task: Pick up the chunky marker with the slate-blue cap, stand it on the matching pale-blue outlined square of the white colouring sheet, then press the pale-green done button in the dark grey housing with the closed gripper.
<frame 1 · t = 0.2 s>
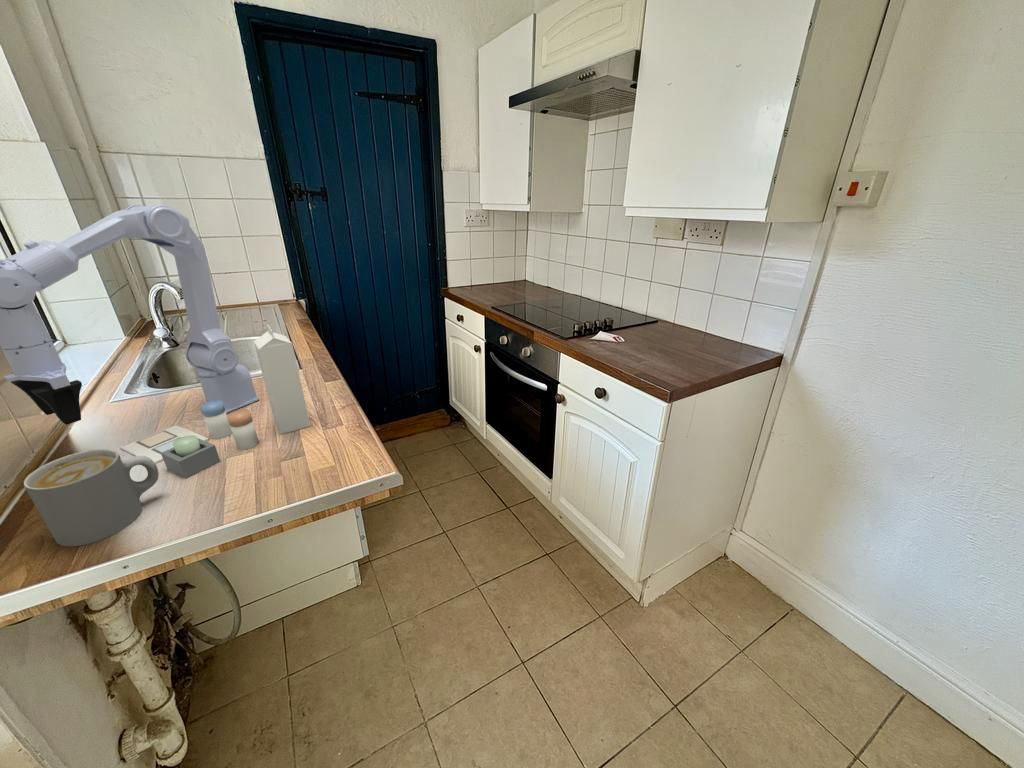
hand: (63, 417, 75), 10 cm above the countertop, fingers open, 7 cm apart
button housing: (194, 465, 78), on the countertop
milk: (293, 425, 92), on the countertop
done button: (188, 448, 77), point 4 cm above the countertop, slide at 0.0 cm
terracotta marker: (247, 444, 85), on the countertop
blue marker: (221, 434, 89), on the countertop
coffee mug: (116, 517, 66), on the countertop
sheet: (165, 444, 85), on the countertop
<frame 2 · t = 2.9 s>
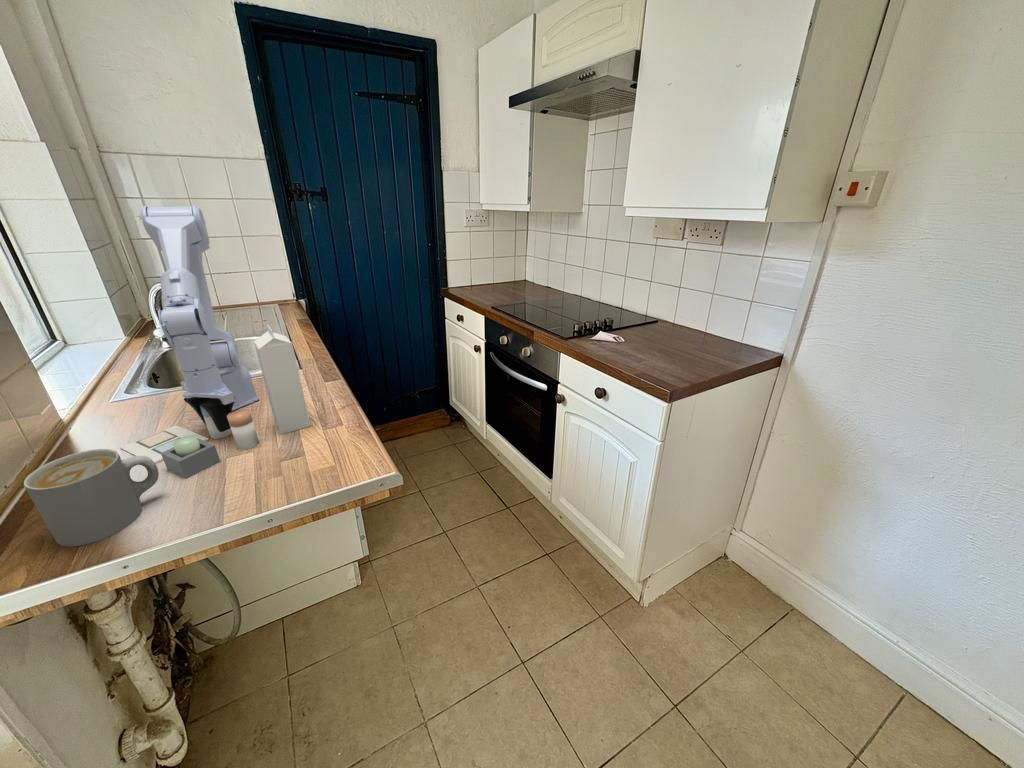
hand: (219, 427, 88), 2 cm above the countertop, fingers closed on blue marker, 4 cm apart
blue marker: (221, 434, 89), on the countertop, touching gripper
everything else where it was.
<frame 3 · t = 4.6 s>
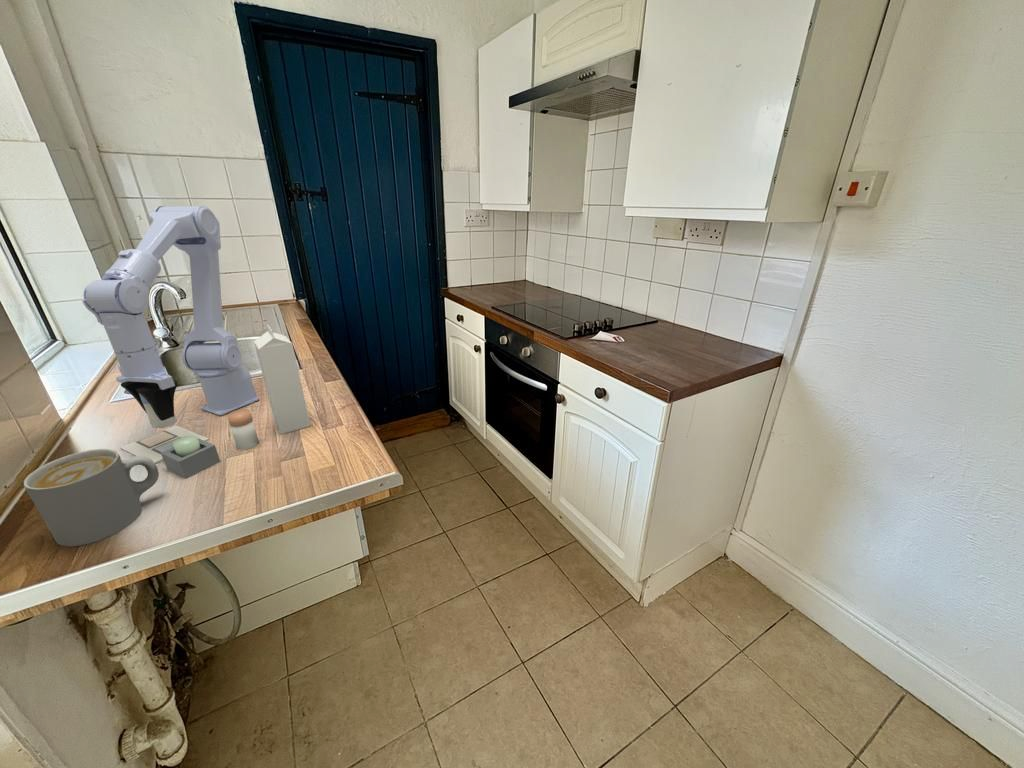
hand: (161, 415, 81), 7 cm above the countertop, fingers closed on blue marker, 4 cm apart
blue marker: (164, 423, 82), point 5 cm above the countertop, touching gripper
everything else where it was.
when the fingers open (3 cm above the countertop, at t = 6.1 s): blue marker stays where it is, resting on sheet.
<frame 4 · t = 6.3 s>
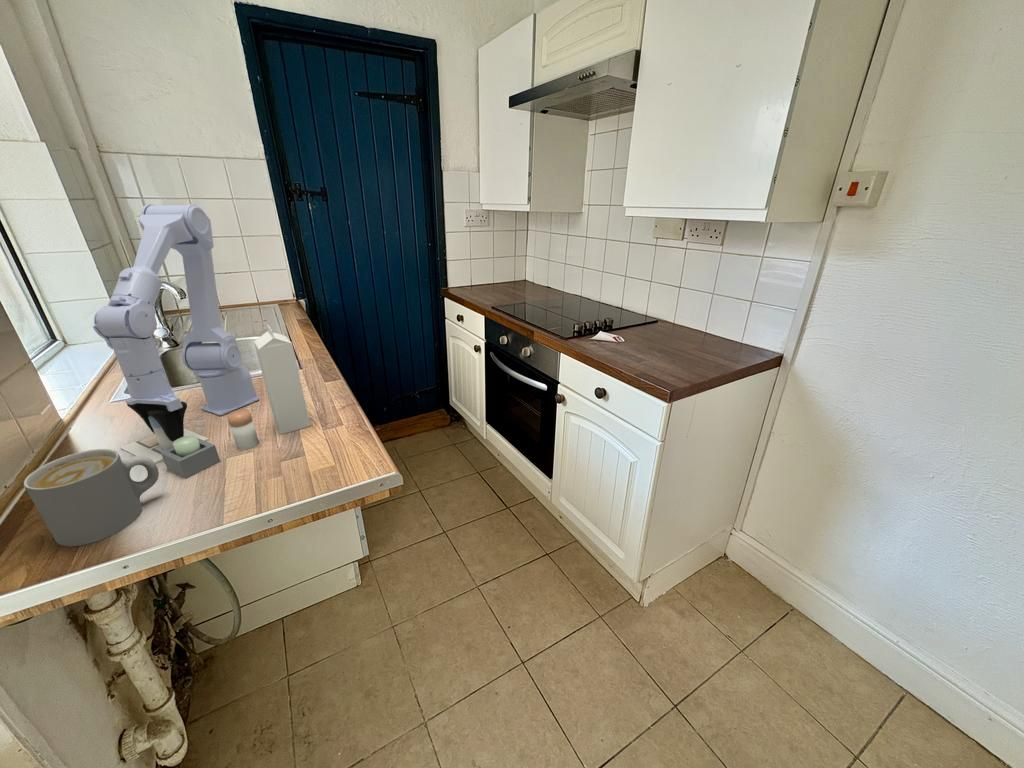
hand: (168, 435, 83), 3 cm above the countertop, fingers open, 5 cm apart
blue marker: (173, 445, 84), resting on sheet
everything else where it was.
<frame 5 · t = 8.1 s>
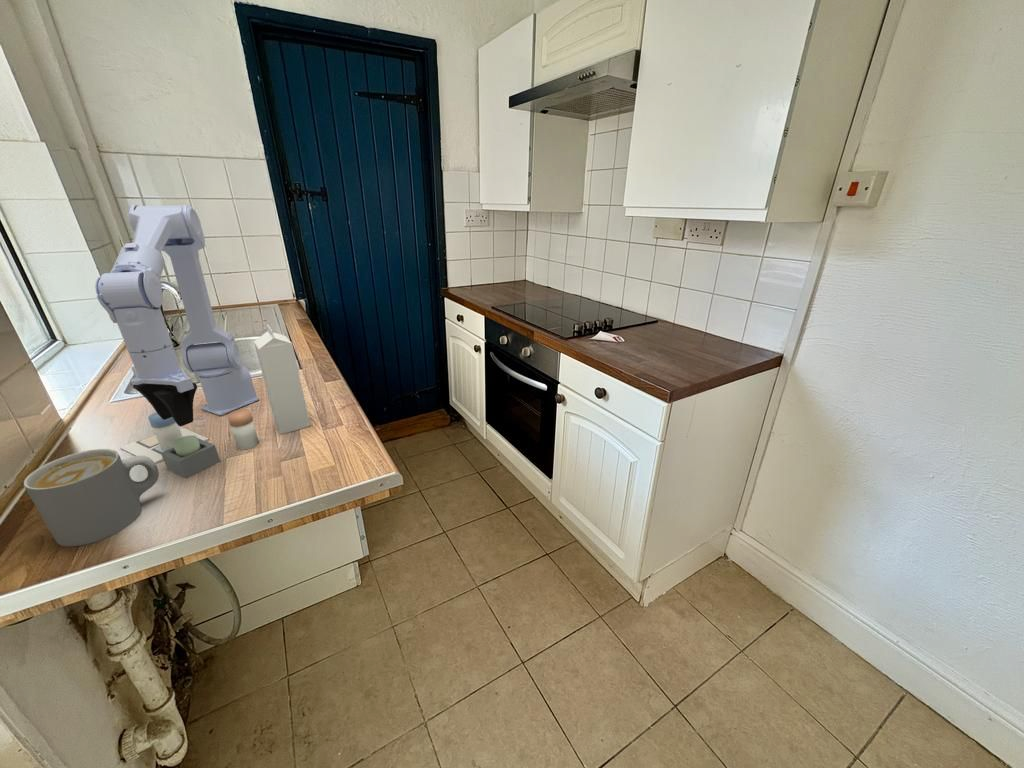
hand: (177, 420, 75), 9 cm above the countertop, fingers open, 5 cm apart
nothing on the countertop moved.
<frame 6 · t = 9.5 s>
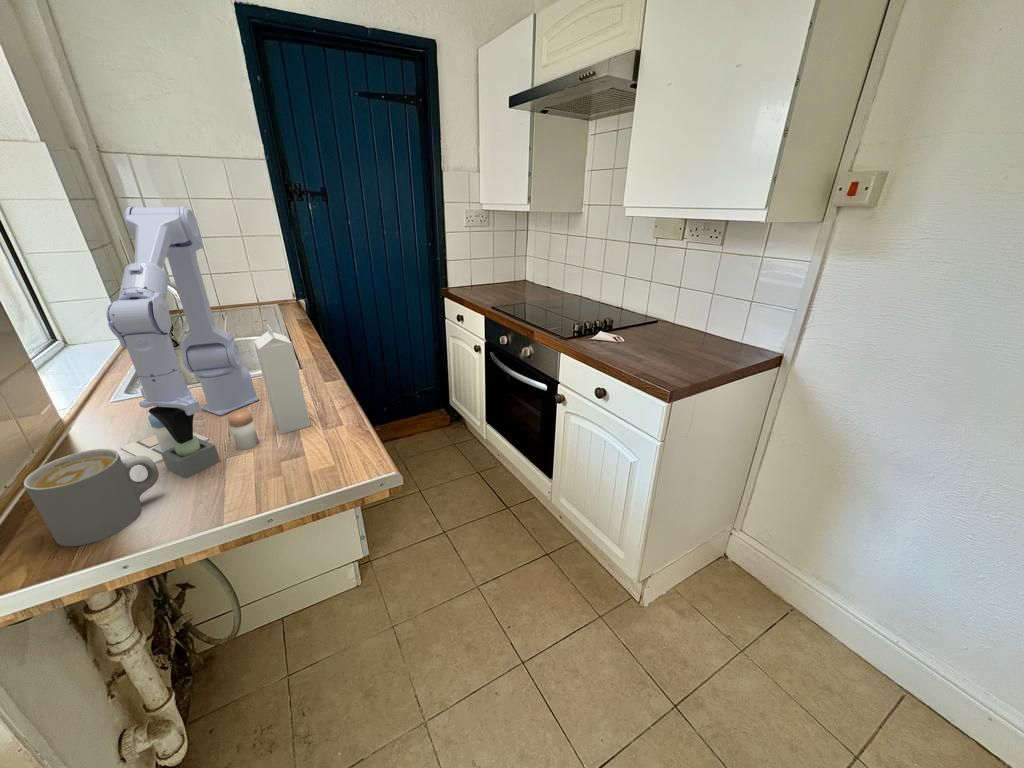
hand: (185, 440, 76), 5 cm above the countertop, fingers closed, pressing on done button
done button: (188, 448, 77), point 4 cm above the countertop, slide at 0.0 cm, touching gripper
everything else where it was.
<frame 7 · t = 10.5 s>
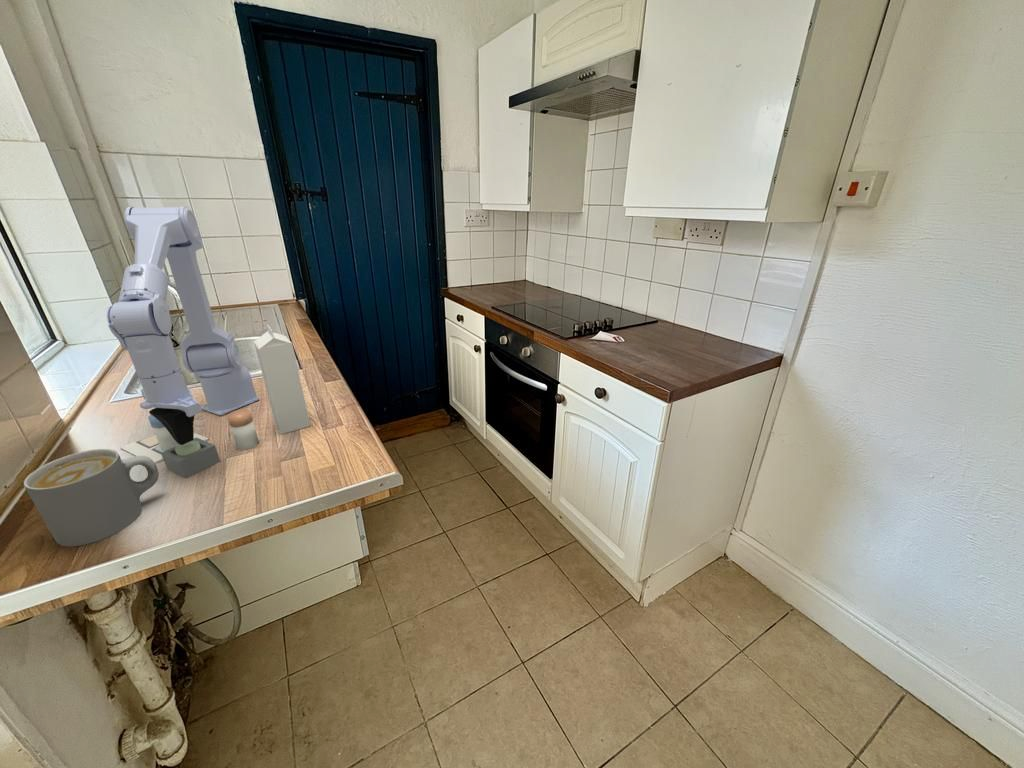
hand: (185, 441, 76), 5 cm above the countertop, fingers closed
done button: (190, 454, 77), point 2 cm above the countertop, slide at -1.1 cm
everything else where it was.
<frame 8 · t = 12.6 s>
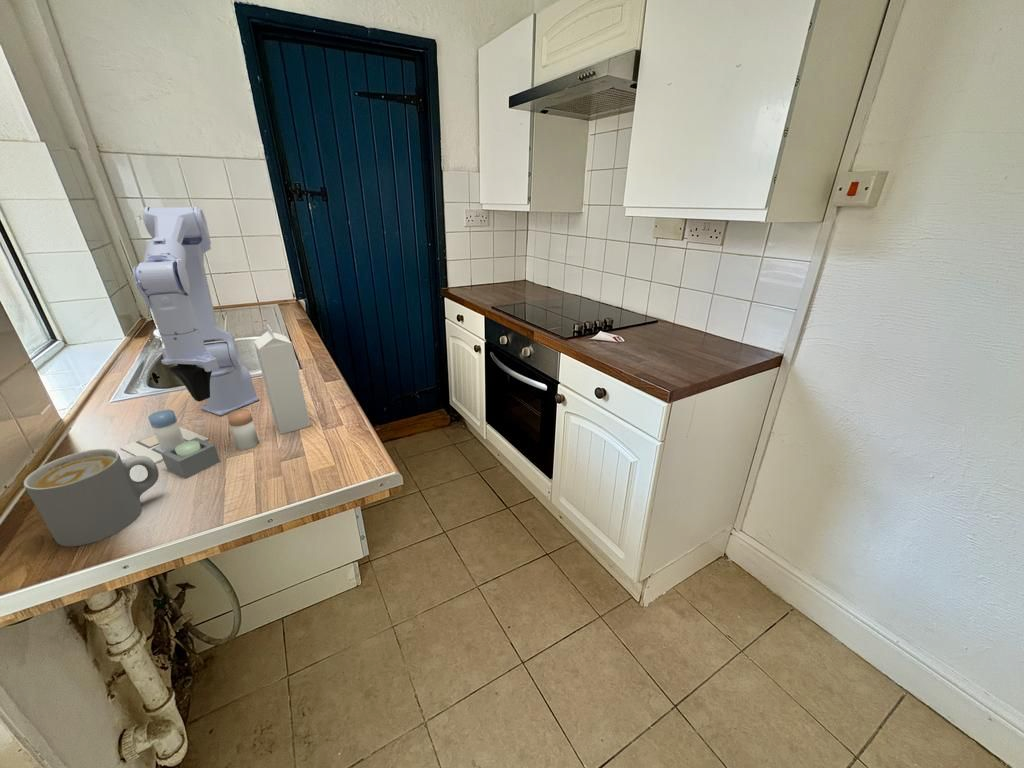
hand: (202, 399, 81), 10 cm above the countertop, fingers closed
nothing on the countertop moved.
at the end: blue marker 0.1 cm from the target spot on the sheet, point 0.4 cm above the sheet's base; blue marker tilted 0°; done button slide at -1.1 cm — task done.
